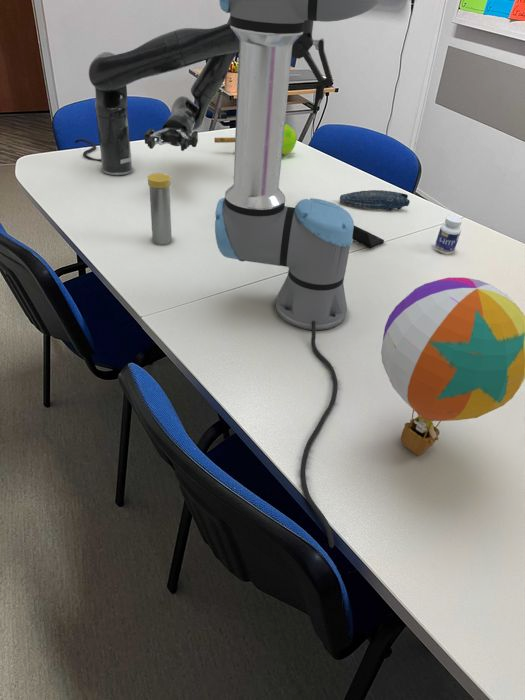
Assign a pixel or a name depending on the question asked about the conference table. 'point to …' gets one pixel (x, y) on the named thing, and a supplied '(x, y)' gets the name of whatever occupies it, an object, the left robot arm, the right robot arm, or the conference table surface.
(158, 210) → the grey metal canister
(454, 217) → the pill bottle
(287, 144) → the decorative tree
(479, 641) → the conference table surface
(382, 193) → the fish model
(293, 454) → the conference table surface
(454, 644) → the conference table surface
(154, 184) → the lid
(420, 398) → the toy
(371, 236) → the handheld gaming console
